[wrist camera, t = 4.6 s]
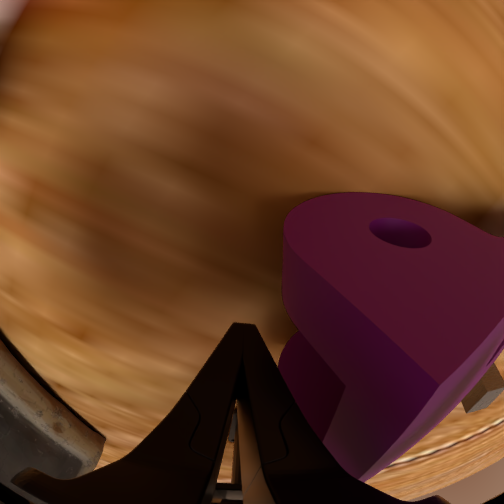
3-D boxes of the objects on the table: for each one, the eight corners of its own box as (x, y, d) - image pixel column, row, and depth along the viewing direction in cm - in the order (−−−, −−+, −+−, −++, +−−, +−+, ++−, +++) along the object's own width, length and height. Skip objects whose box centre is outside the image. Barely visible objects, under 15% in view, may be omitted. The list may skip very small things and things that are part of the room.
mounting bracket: (470, 176, 17) (243, 208, 10) (562, 223, 10) (441, 383, 4) (442, 282, 21) (250, 373, 15) (512, 336, 15) (332, 501, 8)
